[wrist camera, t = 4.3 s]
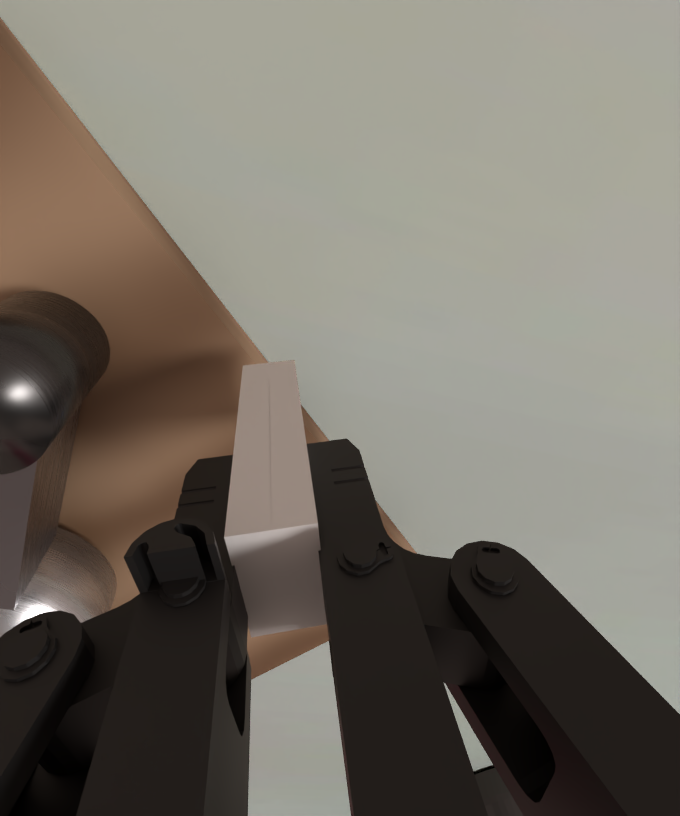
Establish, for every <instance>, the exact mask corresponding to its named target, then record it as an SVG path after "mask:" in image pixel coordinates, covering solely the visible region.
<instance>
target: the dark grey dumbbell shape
mask: <svg viewBox="0 0 680 816" xmlns="http://www.w3.org/2000/svg"><path fill="white" fill-rule="evenodd" d="M109 361H110V345H109V341H108V338H107V335H106V333H105V331H104V329H103V327H102V326H101V324H100V323H99V322H98V320H97V319H96V318H95V317H94V316H93V315H92V314H91V313H90V312H89V311H88V310H87V309H85V308H84V307H83V306H81V305H80V304H78V303H77V302H75V301H73V300H71V299H69V298H67V297H65V296H62V295H59V294H56V293H52V292H47V291H25V292H20V293H17V294H14V295H12V296H10V297H8V298H6V299H4V300H2V301H1V302H0V637H1V636H2V635H3V634H4V633H6V632H7V631H9V630H10V629H12V628H13V627H15V626H16V625H18V624H19V623H21V622H22V621H24V620H26V619H29V618H31V617H33V616H36V615H38V614H41V613H44V612H52V611H59V610H61V611H64V612H68V613H71V614H74V615H75V616H76V618H77V619H78V620H79V621H80V623H82V622H84V621H86V620H89V619H91V618H93V617H96V616H98V615H100V614H103V613H105V612H107V611H110V610H111V607H112V604H113V601H114V598H115V595H116V590H117V580H116V575H115V572H114V570H113V568H112V566H111V564H110V563H109V561H108V560H107V558H106V557H105V556H104V555H103V554H102V553H101V552H100V551H99V550H98V549H97V548H96V547H94V546H93V545H92V544H91V543H89V542H88V541H86V540H85V539H83V538H82V537H80V536H78V535H76V534H74V533H72V532H70V531H67V530H65V529H62V528H60V527H58V522H59V517H60V512H61V507H62V502H63V497H64V491H65V486H66V481H67V476H68V471H69V466H70V461H71V456H72V450H73V445H74V440H75V435H76V430H77V425H78V420H79V415H80V409H81V404H82V402H83V401H84V399H85V398H86V397H87V395H88V394H89V393H90V391H91V390H92V389H93V387H94V386H95V385H96V383H97V382H98V381H99V379H100V378H101V377H102V375H103V374H104V373H105V371H106V369H107V367H108V364H109Z"/></svg>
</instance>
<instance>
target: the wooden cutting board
mask: <svg viewBox="0 0 680 816" xmlns="http://www.w3.org/2000/svg"><path fill="white" fill-rule="evenodd" d="M25 291H47V292H52V293H56V294H59V295H62V296H65V297H67V298H69V299H71V300H73V301H75V302H77V303H78V304H80V305H81V306H83V307H84V308H85V309H87V310H88V311H89V312H90V313H91V314H92V315H93V316H94V317H95V318H96V319H97V320H98V322H99V323H100V324H101V326H102V327H103V329H104V331H105V333H106V335H107V338H108V341H109V345H110V361H109V364H108V367H107V369H106V371H105V373H104V374H103V375H102V377H101V378H100V379H99V381H98V382H97V383H96V385H95V386H94V387H93V389H92V390H91V391H90V393H89V394H88V395H87V397H86V398H85V399H84V401H83V402H82V404H81V409H80V415H79V420H78V425H77V430H76V435H75V440H74V445H73V450H72V456H71V461H70V466H69V471H68V476H67V481H66V486H65V491H64V497H63V502H62V507H61V512H60V517H59V522H58V527H60V528H62V529H65V530H67V531H70V532H72V533H74V534H76V535H78V536H80V537H82V538H83V539H85V540H86V541H88V542H89V543H91V544H92V545H93V546H94V547H96V548H97V549H98V550H99V551H100V552H101V553H102V554H103V555H104V556H105V557H106V558H107V560H108V561H109V563H110V564H111V566H112V568H113V570H114V572H115V575H116V580H117V590H116V595H115V598H114V601H113V604H112V607H111V610H112V609H114V608H117V607H119V606H121V605H123V604H124V603H126V602H128V601H130V600H132V599H133V598H135V597H136V596H137V595H139V594H140V592H139V590H138V588H137V586H136V584H135V582H134V579H133V577H132V575H131V573H130V571H129V568H128V566H127V564H126V562H125V560H124V558H123V557H124V555H125V554H126V552H127V550H128V549H129V547H130V545H131V544H132V543H133V542H134V541H135V540H136V539H137V538H138V537H139V536H140V535H141V534H143V533H144V532H145V531H147V530H148V529H150V528H152V527H154V526H156V525H158V524H160V523H162V522H166V521H169V520H173V519H174V518H175V514H176V510H177V508H178V502H179V498H180V494H182V492H181V490H182V486H183V482H184V478H185V475H186V473H187V472H188V471H189V470H190V468H191V467H192V466H193V465H194V464H195V462H196V461H197V460H198V459H204V458H212V457H219V456H227V455H233V451H234V442H235V433H236V424H237V415H238V406H239V397H240V388H241V378H242V369H243V365H252V364H262V363H268V361H267V360H266V359H265V358H264V356H263V355H262V354H261V352H260V351H259V350H258V349H257V347H256V346H255V345H254V343H253V342H252V341H251V340H250V338H249V337H248V336H247V334H246V333H245V332H244V331H243V329H242V328H241V327H240V325H239V324H238V323H237V322H236V320H235V319H234V318H233V316H232V315H231V314H230V313H229V311H228V310H227V309H226V307H225V306H224V305H223V304H222V302H221V301H220V300H219V298H218V297H217V296H216V295H215V293H214V292H213V291H212V289H211V288H210V287H209V286H208V284H207V283H206V282H205V280H204V279H203V278H202V277H201V275H200V274H199V273H198V271H197V270H196V269H195V268H194V266H193V265H192V264H191V262H190V261H189V260H188V259H187V257H186V256H185V255H184V253H183V252H182V251H181V250H180V248H179V247H178V246H177V244H176V243H175V242H174V241H173V239H172V238H171V237H170V235H169V234H168V233H167V232H166V230H165V229H164V228H163V226H162V225H161V224H160V223H159V221H158V220H157V219H156V217H155V216H154V215H153V214H152V212H151V211H150V210H149V208H148V207H147V206H146V205H145V203H144V202H143V201H142V199H141V198H140V197H139V196H138V194H137V193H136V192H135V190H134V189H133V188H132V187H131V185H130V184H129V183H128V181H127V180H126V179H125V178H124V176H123V175H122V174H121V172H120V171H119V170H118V169H117V167H116V166H115V165H114V163H113V162H112V161H111V160H110V158H109V157H108V156H107V154H106V153H105V152H104V151H103V149H102V148H101V147H100V145H99V144H98V143H97V142H96V140H95V139H94V138H93V136H92V135H91V134H90V132H89V131H88V130H87V129H86V127H85V126H84V125H83V123H82V122H81V121H80V120H79V118H78V117H77V116H76V114H75V113H74V112H73V111H72V109H71V108H70V107H69V105H68V104H67V103H66V102H65V100H64V99H63V98H62V96H61V95H60V94H59V93H58V91H57V90H56V89H55V87H54V86H53V85H52V84H51V82H50V81H49V80H48V78H47V77H46V76H45V75H44V73H43V72H42V71H41V69H40V68H39V67H38V66H37V64H36V63H35V62H34V60H33V59H32V58H31V57H30V55H29V54H28V53H27V51H26V50H25V49H24V48H23V46H22V45H21V44H20V42H19V41H18V40H17V39H16V37H15V36H14V35H13V33H12V32H11V31H10V30H9V28H8V27H7V26H6V24H5V23H4V22H3V21H2V19H1V18H0V302H1V301H2V300H4V299H6V298H8V297H10V296H12V295H14V294H17V293H20V292H25ZM301 409H302V416H303V423H304V430H305V437H306V444H309V443H317V442H324V441H329V440H328V439H327V437H326V436H325V435H324V434H323V432H322V431H321V430H320V428H319V427H318V426H317V425H316V423H315V422H314V421H313V419H312V418H311V417H310V416H309V414H308V413H307V412H306V410H305V409H304V408H303V407H302V405H301ZM375 501H376V500H375ZM376 504H377V507H378V510H379V513H380V517H381V520H382V523H383V526H384V528H385V530H386V532H387V534H388V535H389V537H390V538H391V539H392V540H393V541H394V542H395V543H396V544H398V545H399V546H401V547H402V548H404V549H406V550H408V551H410V552H413V553H416V552H415V551H414V549H413V548H412V547H411V545H410V544H409V543H408V542H407V540H406V539H405V538H404V536H403V535H402V534H401V533H400V531H399V530H398V529H397V527H396V526H395V525H394V524H393V522H392V521H391V520H390V518H389V517H388V516H387V515H386V513H385V512H384V511H383V509H382V508H381V507H380V506H379V504H378V503H377V502H376ZM416 554H417V553H416ZM327 641H329V636H328V629H327V624H325V625H320V626H314V627H308V628H302V629H297V630H291V631H285V632H279V633H274V634H268V635H262V636H256V637H251V635H250V631H249V627H248V634H247V651H248V655H249V659H250V665H251V679H253V678H255V677H257V676H259V675H261V674H263V673H265V672H267V671H269V670H271V669H273V668H275V667H277V666H279V665H281V664H283V663H285V662H287V661H289V660H291V659H293V658H295V657H297V656H299V655H301V654H303V653H305V652H307V651H309V650H311V649H313V648H315V647H317V646H319V645H321V644H323V643H325V642H327Z"/></svg>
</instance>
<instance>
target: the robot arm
mask: <svg viewBox="0 0 680 816" xmlns="http://www.w3.org/2000/svg"><path fill="white" fill-rule="evenodd" d="M181 492H182V494H180V498H179V502H178V508H177V510H176V514H175V518H174V519H173V520H169V521H166V522H162V523H160V524H158V525H156V526H154V527H152V528H150V529H148V530H147V531H145V532H144V533H143V534H141V535H140V536H139V537H138V538H137V539H136V540H135V541H134V542H133V543H132V544H131V545H130V547H129V549H128V550H127V552H126V554H125V555H124V557H123V558H124V560H125V562H126V564H127V566H128V568H129V571H130V573H131V575H132V577H133V579H134V582H135V584H136V586H137V588H138V590H139V592H140V594H139V595H137V596H136V597H135V598H133V599H132V600H130V601H128V602H126V603H124V604H123V605H121V606H119V607H117V608H114V609H112V610H110V611H107V612H105V613H103V614H100V615H98V616H96V617H93V618H91V619H89V620H86V621H84V622H82V623H80V621H79V620H78V619H77V618H76V616H75V615H74V614H71V613H68V612H64V611H61V610H59V611H52V612H44V613H41V614H38V615H36V616H33V617H31V618H29V619H26V620H24V621H22V622H21V623H19V624H18V625H16V626H15V627H13V628H12V629H10V630H9V631H7V632H6V633H4V634H3V635H2V636H1V637H0V816H248V780H249V740H250V700H251V665H250V659H249V655H248V651H247V634H248V627H249V631H250V635H251V637H256V636H262V635H268V634H274V633H279V632H285V631H291V630H297V629H302V628H308V627H314V626H320V625H325V624H327V629H328V636H329V645H330V654H331V663H332V672H333V677H334V685H335V693H336V701H337V709H338V716H339V724H340V732H341V740H342V747H343V755H344V763H345V771H346V779H347V786H348V794H349V802H350V810H351V816H680V714H679V713H678V712H677V711H676V710H675V709H674V708H673V707H672V706H671V705H670V704H669V703H668V702H667V701H666V700H665V699H664V698H663V697H662V696H661V695H660V694H659V693H658V692H657V691H656V690H655V689H654V688H653V687H652V686H651V685H650V684H649V683H648V682H647V681H646V680H645V679H644V678H643V677H642V676H641V675H640V674H639V673H638V672H637V671H636V670H635V669H634V668H633V667H632V666H631V665H630V663H629V662H628V661H627V660H626V659H625V658H624V657H623V656H622V655H621V654H620V653H619V652H618V651H617V650H616V649H615V648H614V647H613V646H612V645H611V644H610V643H609V642H608V641H607V640H606V639H605V638H604V637H603V636H602V635H601V634H600V633H599V632H598V631H597V630H596V629H595V628H594V627H593V626H592V625H591V624H590V623H589V622H588V621H587V620H586V619H585V618H584V617H583V616H582V615H581V614H580V613H579V612H578V611H577V610H576V609H575V608H574V607H573V606H572V605H571V603H570V602H569V601H568V600H567V599H566V598H565V597H564V596H563V595H562V594H561V593H560V592H559V591H558V590H557V589H556V588H555V587H554V586H553V585H552V584H551V583H550V582H549V581H548V580H547V579H546V578H545V577H544V576H543V575H542V574H541V573H540V572H539V571H538V570H537V569H536V568H535V567H534V566H533V565H532V564H531V563H530V562H529V561H528V560H527V559H526V558H525V557H523V556H522V555H521V554H519V553H518V552H517V551H515V550H514V549H512V548H510V547H507V546H505V545H502V544H500V543H496V542H488V541H478V542H473V543H468V544H466V545H464V546H463V547H461V548H460V549H458V550H457V551H456V552H455V554H454V556H453V558H452V559H448V558H440V557H432V556H425V555H420V554H416V553H413V552H410V551H408V550H406V549H404V548H402V547H401V546H399V545H398V544H396V543H395V542H394V541H393V540H392V539H391V538H390V537H389V535H388V534H387V532H386V530H385V528H384V526H383V523H382V520H381V517H380V513H379V510H378V507H377V504H376V501H375V498H374V495H373V492H372V489H371V485H370V482H369V480H368V476H367V473H366V470H365V468H364V464H363V461H362V457H361V454H360V451H359V449H357V448H356V447H355V446H354V445H353V444H352V443H351V442H350V441H349V440H348V439H340V440H332V441H324V442H317V443H309V444H306V437H305V430H304V423H303V416H302V409H301V402H300V395H299V388H298V381H297V374H296V367H295V360H289V361H280V362H271V363H262V364H252V365H243V369H242V378H241V388H240V397H239V406H238V415H237V424H236V433H235V442H234V451H233V455H227V456H219V457H212V458H204V459H198V460H197V461H196V462H195V464H194V465H193V466H192V467H191V468H190V470H189V471H188V472H187V473H186V475H185V478H184V482H183V486H182V490H181ZM443 682H444V683H446V685H447V687H448V689H449V690H450V692H451V694H452V695H453V697H454V699H455V700H456V702H457V704H458V706H459V707H460V709H461V711H462V712H463V714H464V716H465V717H466V719H467V721H468V723H469V724H470V726H471V728H472V729H473V731H474V733H475V734H476V736H477V738H478V739H479V741H480V743H481V745H482V746H483V748H484V750H485V751H486V753H487V755H488V756H489V758H490V760H491V762H492V763H493V765H494V767H495V768H493V769H490V770H486V771H484V772H481V773H478V774H475V775H474V772H473V769H472V766H471V763H470V760H469V757H468V754H467V751H466V748H465V745H464V742H463V740H462V737H461V734H460V731H459V728H458V725H457V722H456V719H455V716H454V713H453V710H452V707H451V704H450V701H449V698H448V695H447V692H446V689H445V686H444V683H443Z"/></svg>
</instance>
